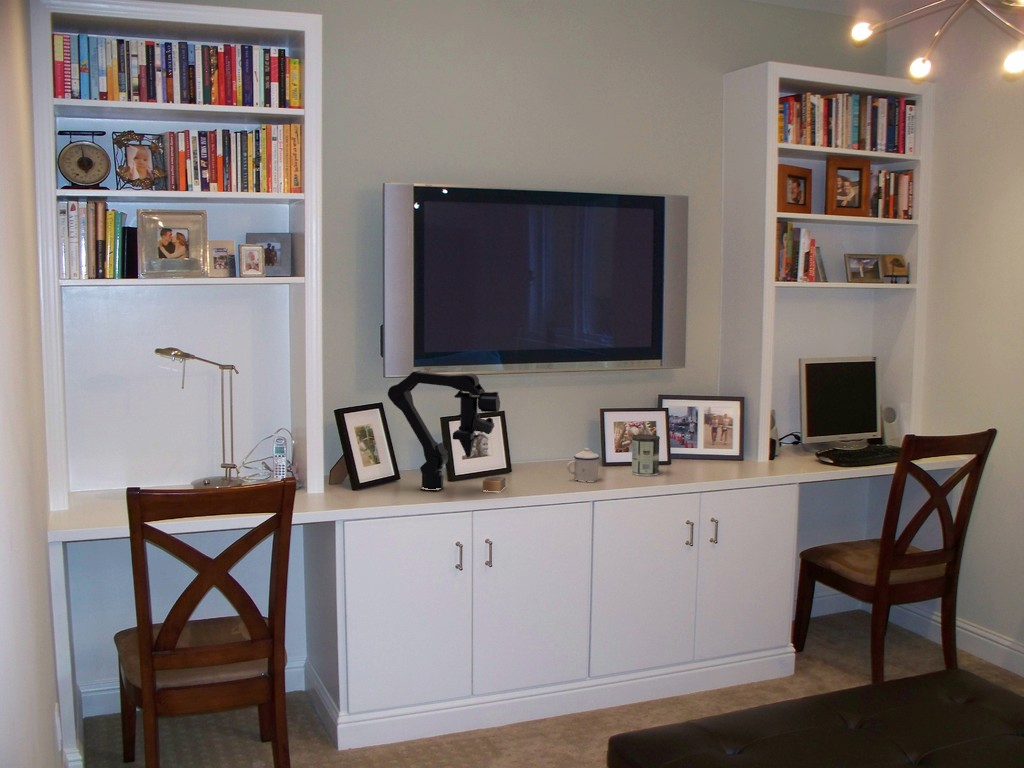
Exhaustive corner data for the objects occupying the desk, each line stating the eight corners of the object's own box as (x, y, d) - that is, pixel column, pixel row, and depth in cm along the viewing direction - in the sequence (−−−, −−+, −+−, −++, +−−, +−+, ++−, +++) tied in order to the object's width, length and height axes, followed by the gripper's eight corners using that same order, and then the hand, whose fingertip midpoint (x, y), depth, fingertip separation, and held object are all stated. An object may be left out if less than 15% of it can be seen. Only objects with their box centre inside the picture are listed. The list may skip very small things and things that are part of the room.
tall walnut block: (482, 481, 314) (488, 476, 322) (482, 492, 315) (488, 487, 322) (499, 482, 313) (505, 477, 321) (499, 493, 313) (505, 488, 321)
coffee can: (649, 469, 355) (650, 433, 353) (664, 475, 345) (665, 437, 344) (626, 471, 351) (627, 434, 349) (639, 477, 341) (640, 439, 340)
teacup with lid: (592, 476, 341) (592, 445, 340) (602, 481, 333) (603, 449, 332) (562, 478, 337) (562, 447, 336) (572, 483, 329) (572, 451, 328)
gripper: (485, 415, 302) (484, 463, 303) (498, 408, 320) (498, 452, 322) (452, 414, 304) (452, 461, 306) (467, 407, 322) (467, 451, 324)
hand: (468, 456), depth 314 cm, fingers closed
